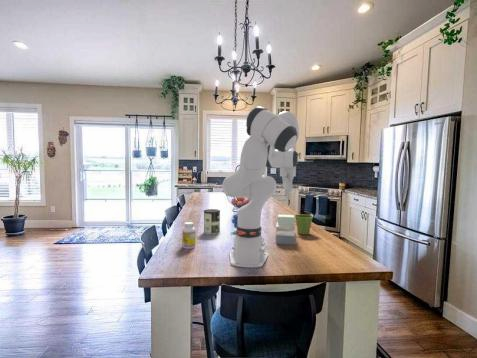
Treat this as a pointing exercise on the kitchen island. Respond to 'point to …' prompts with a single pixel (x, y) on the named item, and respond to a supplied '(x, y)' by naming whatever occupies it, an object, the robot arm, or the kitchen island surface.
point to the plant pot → (303, 223)
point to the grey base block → (286, 239)
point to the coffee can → (211, 221)
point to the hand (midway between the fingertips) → (287, 197)
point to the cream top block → (285, 230)
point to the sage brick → (286, 220)
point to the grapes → (235, 220)
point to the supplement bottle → (188, 236)
